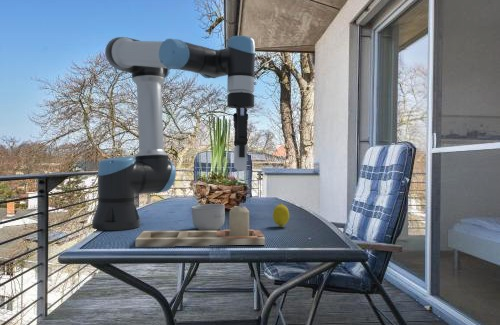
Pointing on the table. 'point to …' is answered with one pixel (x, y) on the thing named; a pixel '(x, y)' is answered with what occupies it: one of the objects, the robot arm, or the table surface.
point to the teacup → (208, 216)
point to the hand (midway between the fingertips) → (239, 169)
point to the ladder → (196, 238)
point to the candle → (239, 221)
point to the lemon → (281, 215)
